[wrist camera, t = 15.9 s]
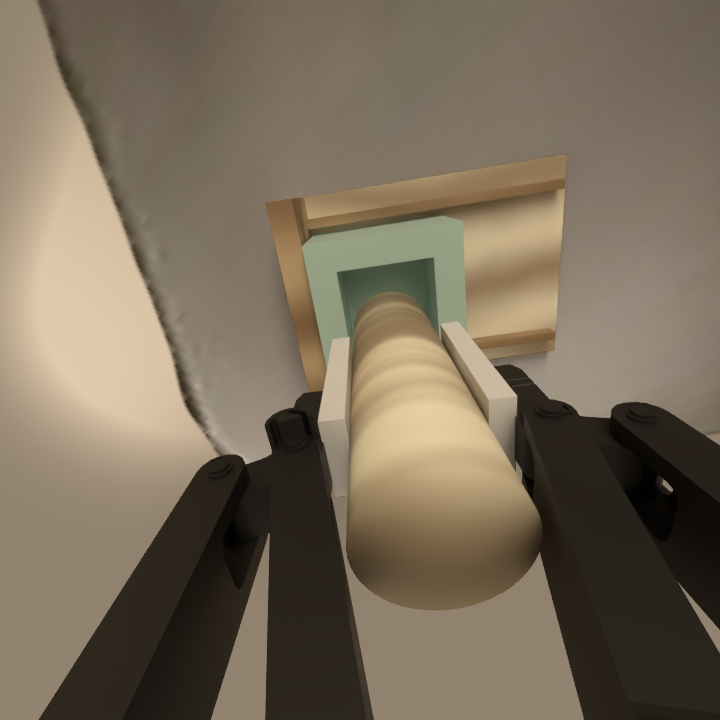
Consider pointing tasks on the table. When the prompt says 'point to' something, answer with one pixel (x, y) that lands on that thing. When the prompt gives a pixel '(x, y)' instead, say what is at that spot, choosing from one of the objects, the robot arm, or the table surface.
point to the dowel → (427, 472)
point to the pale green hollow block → (386, 272)
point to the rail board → (481, 249)
